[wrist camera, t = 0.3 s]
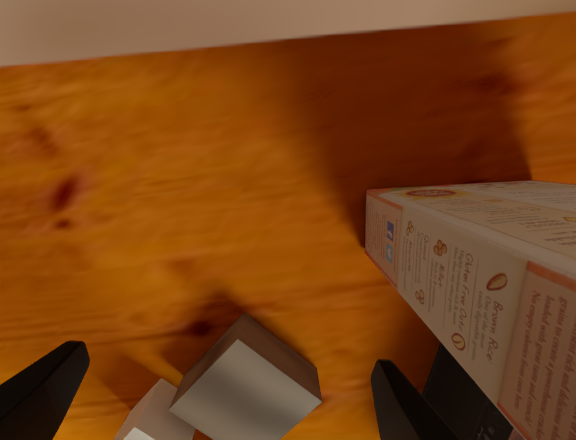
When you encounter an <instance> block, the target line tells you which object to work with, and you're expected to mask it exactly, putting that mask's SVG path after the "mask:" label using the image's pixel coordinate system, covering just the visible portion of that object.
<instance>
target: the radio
mask: <svg viewBox="0 0 576 440" xmlns="http://www.w3.org/2000/svg"><path fill="white" fill-rule="evenodd" d="M422 396H423V397H424V398H425V400H426V401H427V402H428V403H429V404H430V405H431V406H432V408H433V409H434V410H435V411H436V412H437V413H438V415H439V416H440V417H441V418H442V419H443V420H444V421H445V423H446V424H447V425H448V426H449V427H450V428H451V429H452V431H453V432H454V433H455V434H456V435H457V436H458V437H459V439H460V440H524V439H523V437H522V436H521V435H520V434H519V433H518V432H517V431H516V430H515V428H514V427H513V426H512V425H511V424H510V423H509V421H508V420H507V419H506V418H505V417H504V415H503V414H502V413H501V412H500V411H499V409H498V408H497V407H496V406H495V405H494V404H493V403H492V401H491V400H490V399H489V398H488V397H487V396H486V394H485V393H484V392H483V391H482V390H481V389H480V387H479V386H478V385H477V384H476V383H475V381H474V380H473V379H472V378H471V377H470V376H469V374H468V373H467V372H466V371H465V370H464V369H463V367H462V366H461V365H460V364H459V363H458V362H457V360H456V359H455V358H454V357H453V356H452V355H451V353H450V352H449V351H448V350H447V349H446V347H445V346H444V345H443V344H442V343H440V346H439V349H438V352H437V354H436V357H435V360H434V363H433V365H432V368H431V371H430V374H429V377H428V379H427V382H426V385H425V388H424V390H423V393H422Z"/></svg>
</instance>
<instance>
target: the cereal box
mask: <svg viewBox="0 0 576 440" xmlns="http://www.w3.org/2000/svg"><path fill="white" fill-rule="evenodd" d="M365 253H366V254H367V256H368V257H369V258H370V259H371V260H372V262H373V263H374V264H375V265H376V266H377V267H378V269H379V270H380V271H381V272H382V274H383V275H384V276H385V277H386V278H387V280H388V281H389V282H390V283H391V284H392V285H393V287H394V288H395V289H396V290H397V291H398V292H399V293H400V294H401V296H402V297H403V298H404V299H405V300H406V302H407V303H408V304H409V305H410V306H411V307H412V309H413V310H414V311H415V312H416V313H417V315H418V316H419V317H420V318H421V319H422V320H423V322H424V323H425V324H426V325H427V326H428V328H429V329H430V330H431V331H432V332H433V333H434V335H435V336H436V337H437V338H438V339H439V340H440V342H441V343H442V344H443V345H444V346H445V347H446V349H447V350H448V351H449V352H450V353H451V355H452V356H453V357H454V358H455V359H456V360H457V362H458V363H459V364H460V365H461V366H462V367H463V369H464V370H465V371H466V372H467V373H468V374H469V376H470V377H471V378H472V379H473V380H474V381H475V383H476V384H477V385H478V386H479V387H480V389H481V390H482V391H483V392H484V393H485V394H486V396H487V397H488V398H489V399H490V400H491V401H492V403H493V404H494V405H495V406H496V407H497V408H498V409H499V411H500V412H501V413H502V414H503V415H504V417H505V418H506V419H507V420H508V421H509V423H510V424H511V425H512V426H513V427H514V428H515V430H516V431H517V432H518V433H519V434H520V435H521V436H522V437H523V439H524V440H576V184H566V183H557V182H548V181H538V180H527V181H507V182H490V183H471V184H453V185H435V186H418V187H399V188H382V189H368V190H367V191H366V229H365Z"/></svg>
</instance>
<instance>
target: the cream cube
mask: <svg viewBox="0 0 576 440" xmlns="http://www.w3.org/2000/svg"><path fill="white" fill-rule="evenodd" d="M177 389H178V388H176V387H175V386H173V385H172V384H170V383H169V382H167V381H166V380H164V379H163V378H161V379H160V380H159V381H158V382H157V383H156V384H155V385H154V386H153V387H152V388H151V389H150V390H149V392H148V393H147V394H146V395H145V396H144V397H143V398H142V399H141V400H140V401H139V402H138V403H137V404H136V405H135V406H134V407H133V409H132V410H131V411H130V413H129V415H128V416H127V418H126V420H125V421H124V423H123V425H122V426H121V428H120V430H119V431H118V433H117V435H116V436H115V438H114V440H192V439H193V436H194V433H195V430H196V428H195V427H193V426H192V425H190V424H188V423H187V422H185V421H184V420H182V419H181V418H179V417H178V416H176V415H175V414H173V413H172V412H170V411H169V410H168V409H169V407H170V405H171V403H172V401H173V398H174V396H175V394H176V392H177Z"/></svg>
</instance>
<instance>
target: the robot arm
mask: <svg viewBox="0 0 576 440" xmlns="http://www.w3.org/2000/svg"><path fill="white" fill-rule="evenodd" d="M89 363H90V358H89V355H88V351H87V348H86V345H85V343H84V342H83V341H73V340H71V341H67V342H65V343H63V344H62V345H60V346H59V347H57V348H56V349H54V350H53V351H51V352H50V353H48V354H47V355H45V356H44V357H42V358H41V359H39V360H37V361H36V362H34V363H33V364H31V365H30V366H28V367H27V368H25V369H24V370H22V371H21V372H19V373H18V374H16V375H15V376H13V377H12V378H10V379H9V380H7V381H5V382H4V383H2V384H1V385H0V440H52V439H53V437H54V436H55V434H56V432H57V430H58V429H59V427H60V425H61V423H62V421H63V419H64V417H65V415H66V413H67V411H68V409H69V407H70V405H71V403H72V401H73V399H74V396H75V394H76V392H77V390H78V388H79V386H80V384H81V382H82V380H83V377H84V375H85V373H86V371H87V369H88V367H89ZM371 386H372V392H373V398H374V404H375V410H376V416H377V422H378V428H379V433H380V438H381V440H460V439H459V437H458V436H457V435H456V434H455V433H454V432H453V431H452V429H451V428H450V427H449V426H448V425H447V424H446V423H445V421H444V420H443V419H442V418H441V417H440V416H439V415H438V413H437V412H436V411H435V410H434V409H433V408H432V406H431V405H430V404H429V403H428V402H427V401H426V400H425V398H424V397H423V396H422V395H421V394H420V393H419V392H418V390H417V389H416V388H415V387H414V386H413V385H412V384H411V382H410V381H409V380H408V379H407V378H406V377H405V376H404V374H403V373H402V372H401V371H400V370H399V369H398V368H397V366H396V365H395V364H394V363H393V362H392V361H391V360H386V359H378V360H377V362H376V364H375V367H374V369H373V372H372V375H371Z"/></svg>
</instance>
